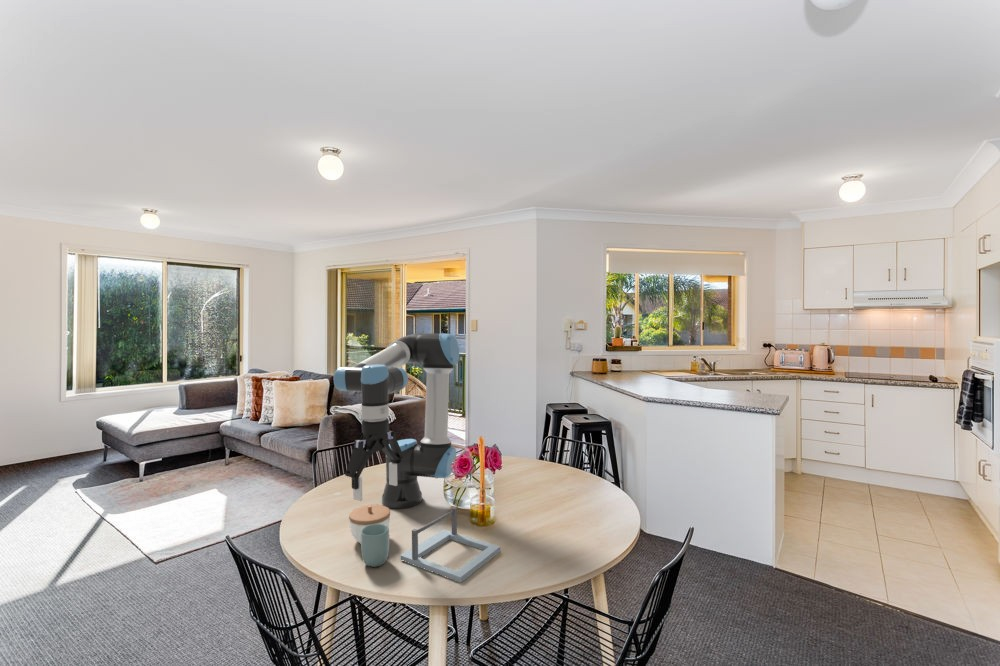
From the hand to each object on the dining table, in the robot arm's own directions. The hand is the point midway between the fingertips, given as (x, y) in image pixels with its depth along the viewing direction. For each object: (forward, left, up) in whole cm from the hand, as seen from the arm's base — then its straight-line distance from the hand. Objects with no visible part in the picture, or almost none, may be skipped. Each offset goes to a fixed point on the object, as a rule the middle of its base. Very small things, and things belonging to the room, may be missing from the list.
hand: (376, 492), depth 139 cm
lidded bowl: (-12, +9, -21) cm, 26 cm away
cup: (0, 0, -21) cm, 21 cm away
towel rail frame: (+16, +15, -21) cm, 30 cm away
